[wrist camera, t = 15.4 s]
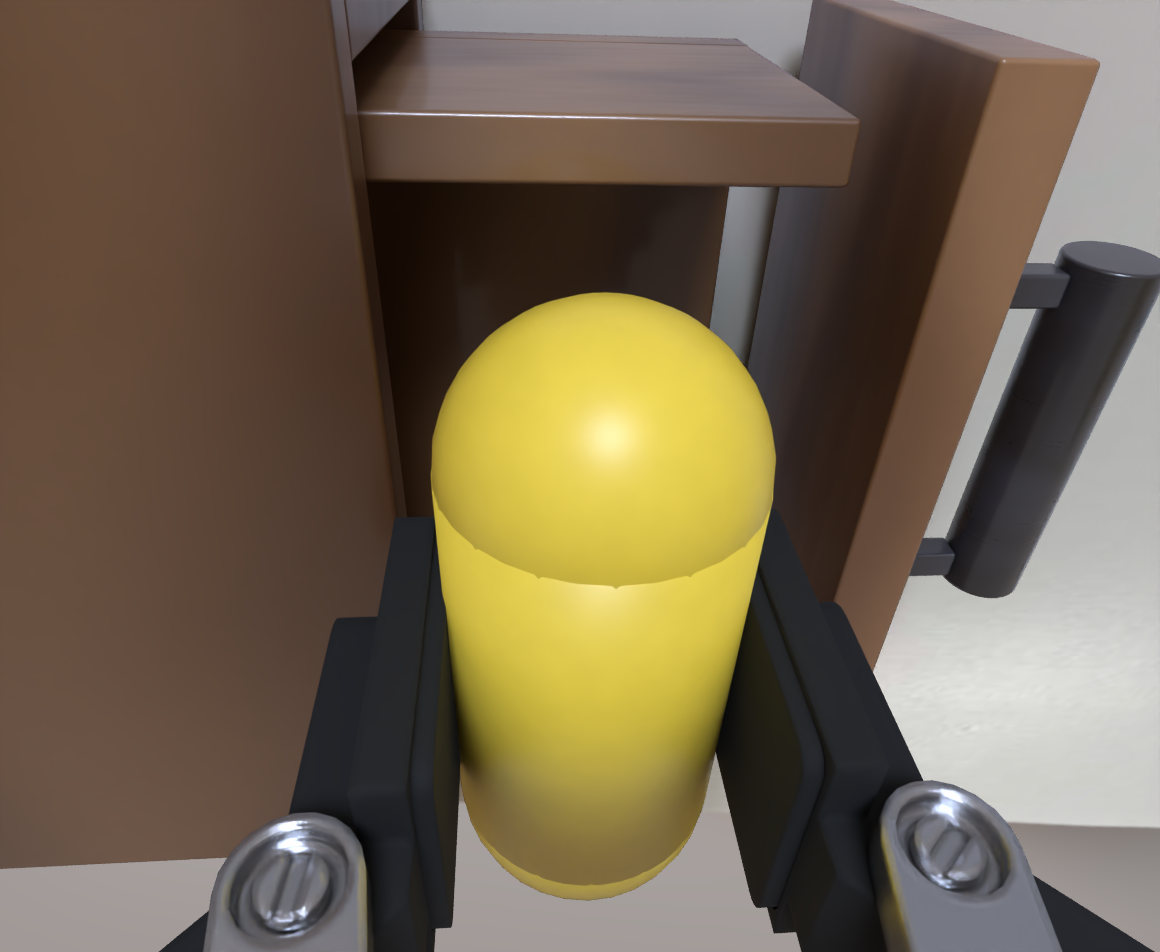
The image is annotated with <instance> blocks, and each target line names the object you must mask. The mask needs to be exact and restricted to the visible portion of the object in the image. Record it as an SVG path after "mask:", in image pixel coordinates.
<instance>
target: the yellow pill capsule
mask: <svg viewBox="0 0 1160 952" xmlns="http://www.w3.org/2000/svg"><path fill="white" fill-rule="evenodd" d="M775 465H776V453H775V446H774V440H773V433H772V428H771V424H770V420H769V416H768V412H767V409H766V407H765V404H764V402H763V400H762V397H761V395H760V392H759V390H758V388H757V385H756V384H755V382H754V380H753V379H752V377H751V376H750V374H749V372H748V371H747V369H746V368H745V367H744V365H743V364H742V363H741V361H740V360H739V359H738V357H737V356H736V355H735V353H734V352H733V351H732V349H731V348H730V347H729V346H728V345H727V344H726V343H725V342H723V341H722V340H721V339H720V338H719V337H718V336H717V335H715V334H714V333H713V332H712V331H710V330H709V329H708V328H707V327H705V326H704V325H703V324H701V323H700V322H699V321H697V320H696V319H694V318H693V317H691V316H690V315H688V314H686V313H684V312H682V311H679V310H677V309H675V308H673V307H670V306H667V305H665V304H662V303H659V302H656V301H653V300H650V299H647V298H644V297H639V296H635V295H629V294H622V293H607V292H604V293H587V294H579V295H575V296H570V297H566V298H561V299H557V300H553V301H549V302H546V303H543V304H541V305H538V306H535V307H533V308H531V309H529V310H527V311H525V312H523V313H522V314H520V315H518V316H517V317H515V318H514V319H512V320H510V321H509V322H507V323H505V324H504V325H502V326H501V327H499V328H498V329H497V330H496V331H494V332H493V333H492V334H491V335H489V336H488V337H487V338H486V339H485V340H484V342H483V343H482V344H481V345H480V346H479V347H478V348H477V349H476V350H475V351H474V352H473V353H472V354H471V355H470V357H469V358H468V359H467V360H466V362H465V363H464V364H463V366H462V367H461V368H460V370H459V372H458V373H457V375H456V377H455V379H454V380H453V382H452V384H451V386H450V388H449V389H448V391H447V393H446V395H445V398H444V401H443V404H442V406H441V409H440V412H439V416H438V420H437V423H436V427H435V430H434V434H433V438H432V469H431V486H432V496H433V506H434V516H435V526H436V536H437V546H438V556H439V566H440V576H441V586H442V594H443V598H444V602H445V606H446V615H447V626H448V636H449V646H450V656H451V667H452V677H453V687H454V698H455V708H456V718H457V729H458V739H459V749H460V759H461V764H460V776H461V786H462V791H463V796H464V800H465V803H466V806H467V810H468V813H469V816H470V820H471V823H472V825H473V826H474V828H475V830H476V832H477V834H478V836H479V838H480V840H481V842H482V843H483V844H484V846H485V847H486V848H487V849H488V851H489V852H490V853H491V854H492V855H493V857H494V858H495V859H496V860H497V861H498V862H499V864H500V865H501V866H502V867H503V868H504V869H505V870H507V871H508V872H509V873H510V874H512V875H513V876H514V877H515V878H516V879H518V880H519V881H520V882H522V883H524V884H526V885H528V886H530V887H532V888H534V889H536V890H538V891H540V892H542V893H546V894H549V895H553V896H556V897H560V898H563V899H576V900H596V899H603V898H611V897H614V896H617V895H620V894H623V893H626V892H628V891H631V890H634V889H636V888H637V887H639V886H641V885H642V884H644V883H646V882H647V881H649V880H651V879H652V878H654V877H655V876H656V875H657V874H658V873H659V872H661V871H662V870H663V869H664V868H665V867H666V866H667V865H668V864H669V863H670V862H671V861H672V860H673V859H674V858H675V857H676V856H677V855H678V854H679V853H680V851H681V850H682V848H683V847H684V845H685V844H686V842H687V841H688V839H689V838H690V836H691V834H692V832H693V830H694V827H695V825H696V822H697V820H698V818H699V815H700V813H701V811H702V807H703V804H704V800H705V796H706V791H707V787H708V783H709V778H710V774H711V769H712V765H713V761H714V756H715V752H716V747H717V743H718V739H719V734H720V730H721V725H722V721H723V717H724V712H725V708H726V703H727V699H728V695H729V690H730V686H731V682H732V677H733V673H734V668H735V664H736V660H737V655H738V651H739V646H740V642H741V638H742V633H743V629H744V624H745V620H746V616H747V611H748V607H749V602H750V598H751V594H752V589H753V585H754V580H755V576H756V572H757V567H758V563H759V559H760V554H761V550H762V545H763V541H764V537H765V532H766V528H767V523H768V519H769V515H770V510H771V506H772V501H773V486H774V476H775Z"/></svg>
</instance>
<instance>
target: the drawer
mask: <svg viewBox="0 0 1160 952" xmlns="http://www.w3.org/2000/svg"><path fill="white" fill-rule="evenodd" d="M351 63H352V71H353V79H354V87H355V95H356V104H357V112H358V120H359V128H360V136H361V144H362V153H363V161H364V169H365V177H366V185H367V194H368V202H369V210H370V218H371V226H372V234H373V243H374V251H375V259H376V267H377V275H378V284H379V292H380V300H381V308H382V316H383V324H384V333H385V341H386V349H387V357H388V365H389V374H390V382H391V390H392V398H393V406H394V414H395V423H396V431H397V439H398V447H399V455H400V464H401V472H402V480H403V488H404V496H405V504H406V513H407V517H435V516H434V506H433V496H432V486H431V469H432V438H433V434H434V430H435V427H436V423H437V420H438V416H439V412H440V409H441V406H442V404H443V401H444V398H445V395H446V393H447V391H448V389H449V388H450V386H451V384H452V382H453V380H454V379H455V377H456V375H457V373H458V372H459V370H460V368H461V367H462V366H463V364H464V363H465V362H466V360H467V359H468V358H469V357H470V355H471V354H472V353H473V352H474V351H475V350H476V349H477V348H478V347H479V346H480V345H481V344H482V343H483V342H484V340H485V339H486V338H487V337H488V336H489V335H491V334H492V333H493V332H494V331H496V330H497V329H498V328H499V327H501V326H502V325H504V324H505V323H507V322H509V321H510V320H512V319H514V318H515V317H517V316H518V315H520V314H522V313H523V312H525V311H527V310H529V309H531V308H533V307H535V306H538V305H541V304H543V303H546V302H549V301H553V300H557V299H561V298H566V297H570V296H575V295H579V294H587V293H604V292H607V293H622V294H629V295H635V296H639V297H644V298H647V299H650V300H653V301H656V302H659V303H662V304H665V305H667V306H670V307H673V308H675V309H677V310H679V311H682V312H684V313H686V314H688V315H690V316H691V317H693V318H694V319H696V320H697V321H699V322H700V323H701V324H703V325H704V326H705V327H707V328H708V329H709V328H710V321H711V314H712V307H713V300H714V292H715V285H716V278H717V271H718V264H719V257H720V249H721V242H722V235H723V228H724V221H725V214H726V207H727V199H728V192H729V187H780V189H779V195H778V200H777V206H776V212H775V217H774V223H773V229H772V234H771V240H770V246H769V251H768V257H767V263H766V268H765V274H764V280H763V285H762V291H761V297H760V302H759V308H758V314H757V319H756V325H755V331H754V336H753V342H752V348H751V353H750V359H749V365H748V370H747V371H748V372H749V374H750V376H751V377H752V379H753V380H754V382H755V384H756V385H757V388H758V390H759V392H760V395H761V397H762V400H763V402H764V404H765V407H766V409H767V412H768V416H769V420H770V424H771V428H772V433H773V440H774V446H775V453H776V465H775V476H774V486H773V501H772V506H771V509H776V510H777V511H778V512H779V514H780V515H781V518H782V520H783V522H784V525H785V527H786V529H787V531H788V534H789V536H790V538H791V541H792V543H793V545H794V547H795V550H796V552H797V554H798V557H799V559H800V561H801V564H802V566H803V568H804V570H805V573H806V575H807V577H808V580H809V582H810V584H811V586H812V589H813V591H814V593H815V596H816V598H817V600H818V602H836V603H837V604H838V605H839V606H841V608H842V609H843V611H844V613H845V614H846V616H847V618H848V620H849V622H850V624H851V627H852V629H853V631H854V633H855V635H856V637H857V639H858V642H859V644H860V646H861V648H862V650H863V652H864V654H865V657H866V659H867V661H868V663H869V665H870V667H871V670H872V672H873V670H874V667H875V664H876V662H877V659H878V656H879V654H880V651H881V648H882V646H883V643H884V640H885V638H886V635H887V632H888V630H889V627H890V624H891V622H892V619H893V616H894V614H895V611H896V608H897V606H898V603H899V600H900V598H901V595H902V592H903V590H904V587H905V584H906V582H907V579H908V576H932V575H943V577H944V578H945V579H946V580H947V581H948V582H950V583H951V584H952V585H953V586H955V587H957V588H958V589H960V590H962V591H964V592H966V593H969V594H972V595H975V596H979V597H984V598H1000V597H1004V596H1007V595H1009V594H1010V593H1012V592H1013V591H1014V590H1015V588H1016V586H1017V584H1018V582H1019V580H1020V578H1021V576H1022V574H1023V572H1024V570H1025V568H1026V566H1027V564H1028V562H1029V560H1030V558H1031V555H1032V553H1033V551H1034V549H1035V547H1036V545H1037V543H1038V541H1039V539H1040V537H1041V535H1042V533H1043V531H1044V529H1045V527H1046V525H1047V523H1048V521H1049V519H1050V517H1051V515H1052V512H1053V510H1054V508H1055V506H1056V504H1057V502H1058V500H1059V498H1060V496H1061V494H1062V492H1063V490H1064V488H1065V486H1066V484H1067V482H1068V480H1069V478H1070V476H1071V474H1072V472H1073V469H1074V467H1075V465H1076V463H1077V461H1078V459H1079V457H1080V455H1081V453H1082V451H1083V449H1084V447H1085V445H1086V443H1087V441H1088V439H1089V437H1090V435H1091V433H1092V431H1093V429H1094V426H1095V424H1096V422H1097V420H1098V418H1099V416H1100V414H1101V412H1102V410H1103V408H1104V406H1105V404H1106V402H1107V400H1108V398H1109V396H1110V394H1111V392H1112V390H1113V388H1114V386H1115V383H1116V381H1117V379H1118V377H1119V375H1120V373H1121V371H1122V369H1123V367H1124V365H1125V363H1126V361H1127V359H1128V357H1129V355H1130V353H1131V351H1132V349H1133V347H1134V345H1135V343H1136V340H1137V338H1138V336H1139V334H1140V332H1141V330H1142V328H1143V326H1144V324H1145V322H1146V320H1147V318H1148V316H1149V314H1150V312H1151V310H1152V308H1153V306H1154V304H1155V302H1156V300H1157V297H1158V295H1159V293H1160V258H1158V257H1156V256H1154V255H1152V254H1150V253H1147V252H1145V251H1142V250H1139V249H1136V248H1132V247H1128V246H1124V245H1119V244H1114V243H1107V242H1098V241H1078V242H1071V243H1068V244H1065V245H1064V246H1063V247H1062V248H1061V249H1060V251H1059V254H1058V256H1057V259H1056V261H1055V264H1052V263H1026V262H1027V259H1028V256H1029V254H1030V251H1031V248H1032V246H1033V243H1034V240H1035V238H1036V235H1037V232H1038V230H1039V227H1040V224H1041V222H1042V219H1043V216H1044V214H1045V211H1046V208H1047V206H1048V203H1049V200H1050V198H1051V195H1052V192H1053V190H1054V187H1055V184H1056V182H1057V179H1058V176H1059V174H1060V171H1061V168H1062V166H1063V163H1064V160H1065V158H1066V155H1067V152H1068V150H1069V147H1070V144H1071V142H1072V139H1073V136H1074V134H1075V131H1076V128H1077V126H1078V123H1079V120H1080V118H1081V115H1082V112H1083V110H1084V107H1085V104H1086V102H1087V99H1088V96H1089V94H1090V91H1091V88H1092V86H1093V83H1094V80H1095V78H1096V75H1097V72H1098V70H1099V67H1100V62H1099V61H1098V60H1096V59H1094V58H1090V57H1087V56H1083V55H1080V54H1076V53H1073V52H1069V51H1066V50H1062V49H1059V48H1055V47H1052V46H1048V45H1045V44H1041V43H1038V42H1034V41H1031V40H1027V39H1024V38H1020V37H1017V36H1013V35H1010V34H1006V33H1003V32H999V31H996V30H992V29H989V28H985V27H982V26H978V25H975V24H971V23H968V22H964V21H961V20H957V19H954V18H950V17H947V16H943V15H940V14H936V13H933V12H929V11H926V10H922V9H919V8H915V7H912V6H908V5H905V4H901V3H898V2H894V1H891V0H813V2H812V7H811V13H810V19H809V24H808V30H807V36H806V41H805V47H804V53H803V58H802V64H801V70H800V75H799V80H798V79H797V78H795V77H794V76H792V75H791V74H789V73H788V72H786V71H784V70H783V69H781V68H780V67H778V66H777V65H775V64H774V63H772V62H771V61H769V60H768V59H766V58H765V57H763V56H761V55H760V54H758V53H757V52H755V51H754V50H752V49H751V48H749V47H748V46H747V45H746V44H744V43H743V42H741V41H739V40H738V39H719V38H681V37H644V36H607V35H570V34H533V33H496V32H459V31H422V30H385V29H382V30H381V31H380V32H379V33H378V34H377V35H376V36H375V37H374V38H373V39H372V40H371V41H370V42H369V44H368V45H367V46H366V47H365V48H364V49H363V50H362V51H361V52H360V53H359V54H358V55H357V56H356V57H355V59H354V60H353V61H351ZM1009 309H1036V311H1035V314H1034V316H1033V319H1032V322H1031V324H1030V327H1029V329H1028V332H1027V334H1026V337H1025V339H1024V342H1023V344H1022V347H1021V349H1020V352H1019V354H1018V357H1017V359H1016V362H1015V364H1014V367H1013V369H1012V372H1011V374H1010V377H1009V379H1008V382H1007V385H1006V387H1005V390H1004V392H1003V395H1002V397H1001V400H1000V402H999V405H998V407H997V410H996V412H995V415H994V417H993V420H992V422H991V425H990V427H989V430H988V432H987V435H986V437H985V440H984V442H983V445H982V448H981V450H980V453H979V455H978V458H977V460H976V463H975V465H974V468H973V470H972V473H971V475H970V478H969V480H968V483H967V485H966V488H965V490H964V493H963V495H962V498H961V500H960V503H959V505H958V508H957V510H956V513H955V516H954V518H953V521H952V523H951V526H950V528H949V531H948V533H947V536H946V538H945V539H944V538H923V536H924V534H925V531H926V528H927V526H928V523H929V520H930V518H931V515H932V512H933V510H934V507H935V504H936V502H937V499H938V496H939V494H940V491H941V488H942V486H943V483H944V480H945V478H946V475H947V472H948V470H949V467H950V464H951V462H952V459H953V456H954V454H955V451H956V448H957V446H958V443H959V440H960V438H961V435H962V432H963V430H964V427H965V424H966V422H967V419H968V416H969V414H970V411H971V408H972V406H973V403H974V400H975V398H976V395H977V392H978V390H979V387H980V384H981V382H982V379H983V376H984V374H985V371H986V368H987V366H988V363H989V360H990V358H991V355H992V352H993V350H994V347H995V344H996V342H997V339H998V336H999V334H1000V331H1001V328H1002V326H1003V323H1004V320H1005V318H1006V315H1007V312H1008V310H1009Z"/></svg>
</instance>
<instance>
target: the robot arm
mask: <svg viewBox="0 0 1160 952" xmlns="http://www.w3.org/2000/svg"><path fill="white" fill-rule="evenodd" d="M716 755H717V760H718V764H719V768H720V772H721V776H722V780H723V784H724V788H725V793H726V797H727V801H728V805H729V809H730V813H731V817H732V822H733V826H734V830H735V834H736V838H737V842H738V846H739V850H740V855H741V859H742V863H743V867H744V871H745V875H746V879H747V884H748V887H749V892H750V895H751V899H752V901H753V903H754V905H755V906H756V907H757V908H762V907H763V908H764V907H767V908H768V912H769V916H770V920H771V924H772V928H773V932H774V933H788V932H796V933H797V937H798V941H799V944H800V948H801V951H802V952H1154V951H1152V950H1151V949H1149V948H1148V947H1146V946H1144V945H1143V944H1141V943H1140V942H1138V941H1136V940H1135V939H1133V938H1132V937H1130V936H1129V935H1127V934H1126V933H1124V932H1122V931H1121V930H1119V929H1118V928H1116V927H1114V926H1113V925H1111V924H1110V923H1108V922H1107V921H1105V920H1103V919H1102V918H1100V917H1099V916H1097V915H1095V914H1094V913H1092V912H1091V911H1089V910H1088V909H1086V908H1084V907H1083V906H1081V905H1079V904H1078V903H1076V902H1075V901H1073V900H1072V899H1070V898H1069V897H1067V896H1065V895H1064V894H1062V893H1060V892H1059V891H1058V890H1056V889H1054V888H1052V887H1051V886H1050V885H1048V884H1046V883H1045V882H1043V881H1041V880H1040V879H1039V878H1037V877H1035V876H1034V875H1033V874H1032V872H1031V869H1030V867H1029V864H1028V861H1027V859H1026V856H1025V854H1024V851H1023V848H1022V847H1021V845H1020V843H1019V841H1018V839H1017V837H1016V836H1015V834H1014V832H1013V830H1012V828H1011V827H1010V826H1009V825H1008V824H1007V822H1006V821H1005V820H1004V819H1003V818H1002V817H1001V816H1000V815H999V813H998V812H997V811H996V810H995V809H994V808H992V807H991V806H990V805H988V804H987V803H986V802H984V801H983V800H982V799H980V798H979V797H978V796H976V795H975V794H972V793H970V792H968V791H966V790H964V789H962V788H960V787H957V786H955V785H952V784H947V783H943V782H938V781H933V780H931V781H923V779H922V777H921V775H920V772H919V770H918V768H917V766H916V764H915V762H914V760H913V757H912V755H911V753H910V751H909V749H908V747H907V745H906V742H905V740H904V738H903V736H902V734H901V732H900V730H899V727H898V725H897V723H896V721H895V719H894V717H893V715H892V712H891V710H890V708H889V706H888V704H887V702H886V700H885V697H884V695H883V693H882V691H881V689H880V687H879V685H878V682H877V680H876V678H875V676H874V674H873V672H872V670H871V667H870V665H869V663H868V661H867V659H866V657H865V654H864V652H863V650H862V648H861V646H860V644H859V642H858V639H857V637H856V635H855V633H854V631H853V629H852V627H851V624H850V622H849V620H848V618H847V616H846V614H845V613H844V611H843V609H842V608H841V606H839V605H838V604H837V603H836V602H818V600H817V598H816V596H815V593H814V591H813V589H812V586H811V584H810V582H809V580H808V577H807V575H806V573H805V570H804V568H803V566H802V564H801V561H800V559H799V557H798V554H797V552H796V550H795V547H794V545H793V543H792V541H791V538H790V536H789V534H788V531H787V529H786V527H785V525H784V522H783V520H782V518H781V515H780V514H779V512H778V511H777V510H776V509H771V510H770V515H769V519H768V523H767V528H766V532H765V537H764V541H763V545H762V550H761V554H760V559H759V563H758V567H757V572H756V576H755V580H754V585H753V589H752V594H751V598H750V602H749V607H748V611H747V616H746V620H745V624H744V629H743V633H742V638H741V642H740V646H739V651H738V655H737V660H736V664H735V668H734V673H733V677H732V682H731V686H730V690H729V695H728V699H727V703H726V708H725V712H724V717H723V721H722V725H721V730H720V734H719V739H718V743H717V747H716ZM460 764H461V759H460V749H459V739H458V729H457V718H456V708H455V698H454V687H453V677H452V667H451V656H450V646H449V636H448V626H447V615H446V606H445V602H444V598H443V594H442V586H441V576H440V566H439V556H438V546H437V536H436V526H435V517H396V518H395V520H394V524H393V529H392V535H391V541H390V547H389V553H388V558H387V564H386V570H385V576H384V582H383V587H382V593H381V599H380V605H379V610H378V616H375V617H344V618H337V619H336V620H335V622H334V624H333V627H332V630H331V633H330V638H329V642H328V646H327V651H326V655H325V659H324V664H323V668H322V672H321V676H320V681H319V685H318V689H317V694H316V698H315V702H314V707H313V711H312V715H311V720H310V724H309V728H308V732H307V737H306V741H305V745H304V750H303V754H302V758H301V763H300V767H299V771H298V776H297V780H296V784H295V789H294V793H293V797H292V801H291V806H290V810H289V814H288V815H287V816H283V817H280V818H277V819H274V820H271V821H269V822H268V823H266V824H264V825H263V826H261V827H259V828H258V829H256V830H254V831H253V832H251V833H250V834H249V835H248V836H247V837H246V838H244V839H243V840H242V841H241V842H240V843H239V844H238V845H237V846H236V847H235V848H234V849H233V850H232V851H231V853H230V854H229V856H228V858H227V859H226V861H225V862H224V864H223V866H222V867H221V869H220V870H219V872H218V874H217V878H216V881H215V884H214V888H213V891H212V895H211V900H210V907H209V911H208V912H207V913H205V914H204V915H203V916H202V917H201V918H199V919H198V920H197V921H196V922H194V923H193V924H192V925H191V926H190V927H188V928H187V929H186V930H185V931H183V932H182V933H181V934H180V935H179V936H177V937H176V938H175V939H174V940H173V941H171V942H170V943H169V944H168V945H166V946H165V947H164V948H163V949H162V950H161V951H159V952H434V945H435V929H436V928H451V926H452V921H453V906H454V904H453V903H454V886H455V866H456V845H457V825H458V805H459V784H460Z"/></svg>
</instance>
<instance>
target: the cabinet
mask: <svg viewBox="0 0 1160 952" xmlns="http://www.w3.org/2000/svg"><path fill="white" fill-rule="evenodd" d="M382 29H385V30H422V31H423V18H422V4H421V0H0V869H7V868H27V867H46V866H67V865H86V864H105V863H127V862H147V861H167V860H187V859H207V858H227V857H228V856H229V854H230V853H231V851H232V850H233V849H234V848H235V847H236V846H237V845H238V844H239V843H240V842H241V841H242V840H243V839H244V838H246V837H247V836H248V835H249V834H250V833H251V832H253V831H254V830H256V829H258V828H259V827H261V826H263V825H264V824H266V823H268V822H269V821H271V820H274V819H277V818H280V817H283V816H287V815H288V814H289V810H290V806H291V801H292V797H293V793H294V789H295V784H296V780H297V776H298V771H299V767H300V763H301V758H302V754H303V750H304V745H305V741H306V737H307V732H308V728H309V724H310V720H311V715H312V711H313V707H314V702H315V698H316V694H317V689H318V685H319V681H320V676H321V672H322V668H323V664H324V659H325V655H326V651H327V646H328V642H329V638H330V633H331V630H332V627H333V624H334V622H335V620H336V619H337V618H344V617H375V616H378V610H379V605H380V599H381V593H382V587H383V582H384V576H385V570H386V564H387V558H388V553H389V547H390V541H391V535H392V529H393V524H394V520H395V518H396V517H407V513H406V504H405V496H404V488H403V480H402V472H401V464H400V455H399V447H398V439H397V431H396V423H395V414H394V406H393V398H392V390H391V382H390V374H389V365H388V357H387V349H386V341H385V333H384V324H383V316H382V308H381V300H380V292H379V284H378V275H377V267H376V259H375V251H374V243H373V234H372V226H371V218H370V210H369V202H368V194H367V185H366V177H365V169H364V161H363V153H362V144H361V136H360V128H359V120H358V112H357V104H356V95H355V87H354V79H353V71H352V63H351V61H353V60H354V59H355V57H356V56H357V55H358V54H359V53H360V52H361V51H362V50H363V49H364V48H365V47H366V46H367V45H368V44H369V42H370V41H371V40H372V39H373V38H374V37H375V36H376V35H377V34H378V33H379V32H380V31H381V30H382Z"/></svg>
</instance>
